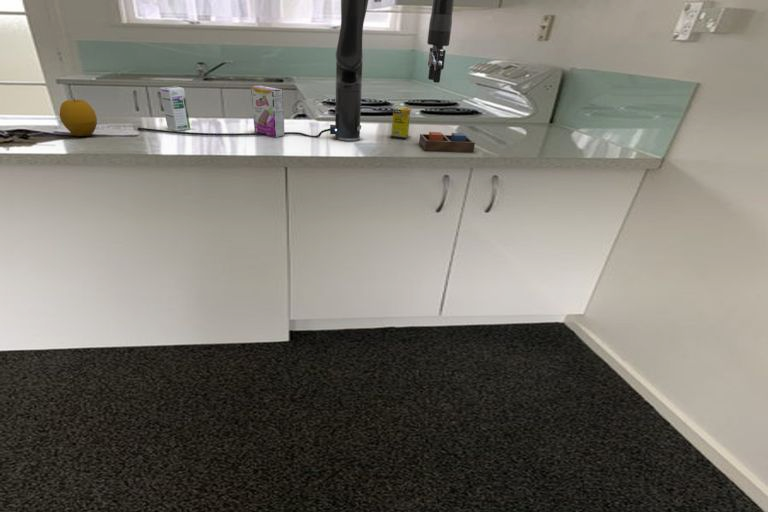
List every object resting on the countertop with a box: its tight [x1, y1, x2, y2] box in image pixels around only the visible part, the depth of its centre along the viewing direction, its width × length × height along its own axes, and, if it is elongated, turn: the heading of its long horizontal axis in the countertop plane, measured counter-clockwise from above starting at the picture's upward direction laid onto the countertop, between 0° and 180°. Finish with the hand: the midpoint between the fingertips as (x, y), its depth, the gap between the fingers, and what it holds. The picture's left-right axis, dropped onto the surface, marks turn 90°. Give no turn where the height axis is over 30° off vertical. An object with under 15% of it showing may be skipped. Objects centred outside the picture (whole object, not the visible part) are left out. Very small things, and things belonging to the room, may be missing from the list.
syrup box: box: [159, 85, 191, 132], centre depth 151 cm, size 6×6×14 cm
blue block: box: [450, 132, 467, 142], centre depth 155 cm, size 4×4×4 cm
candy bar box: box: [250, 85, 286, 138], centre depth 153 cm, size 11×5×16 cm, turn 58°
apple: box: [59, 98, 98, 138], centre depth 135 cm, size 10×10×12 cm
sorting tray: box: [418, 133, 476, 154], centre depth 155 cm, size 18×11×4 cm, turn 96°
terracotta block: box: [428, 131, 445, 141], centre depth 153 cm, size 4×4×4 cm
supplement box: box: [390, 106, 411, 140], centre depth 164 cm, size 6×6×11 cm
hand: (433, 81), depth 150 cm, fingers open, 8 cm apart
